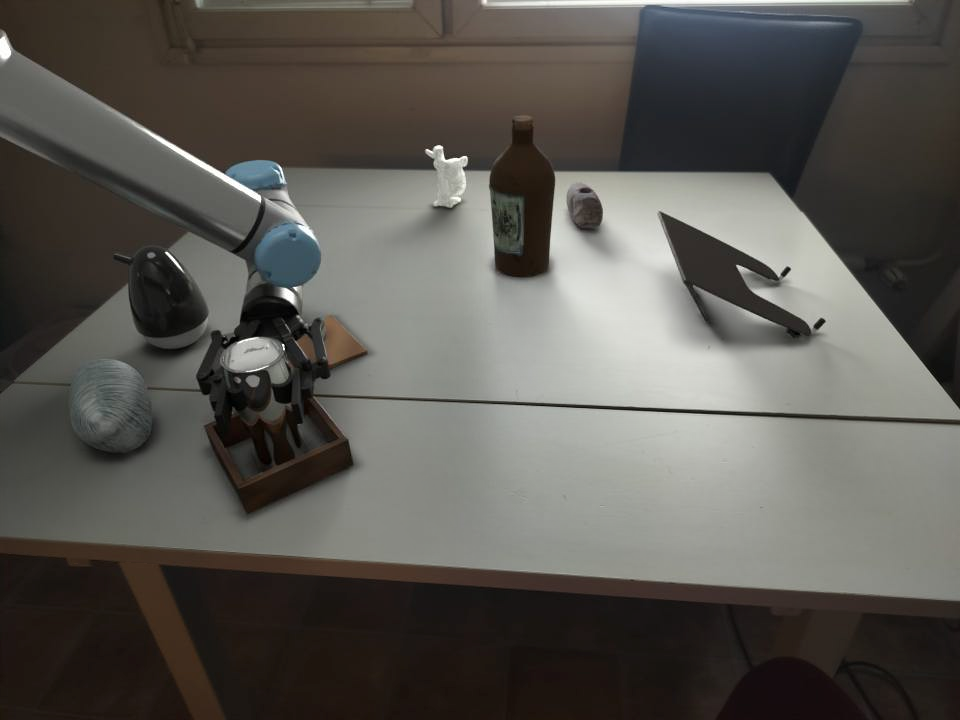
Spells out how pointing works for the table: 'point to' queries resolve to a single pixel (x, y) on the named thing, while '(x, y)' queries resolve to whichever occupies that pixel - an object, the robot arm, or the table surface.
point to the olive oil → (522, 204)
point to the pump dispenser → (164, 298)
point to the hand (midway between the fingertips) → (259, 419)
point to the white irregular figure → (448, 177)
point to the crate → (288, 474)
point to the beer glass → (263, 399)
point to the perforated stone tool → (584, 205)
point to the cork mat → (333, 345)
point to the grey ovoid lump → (110, 406)
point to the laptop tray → (726, 274)
